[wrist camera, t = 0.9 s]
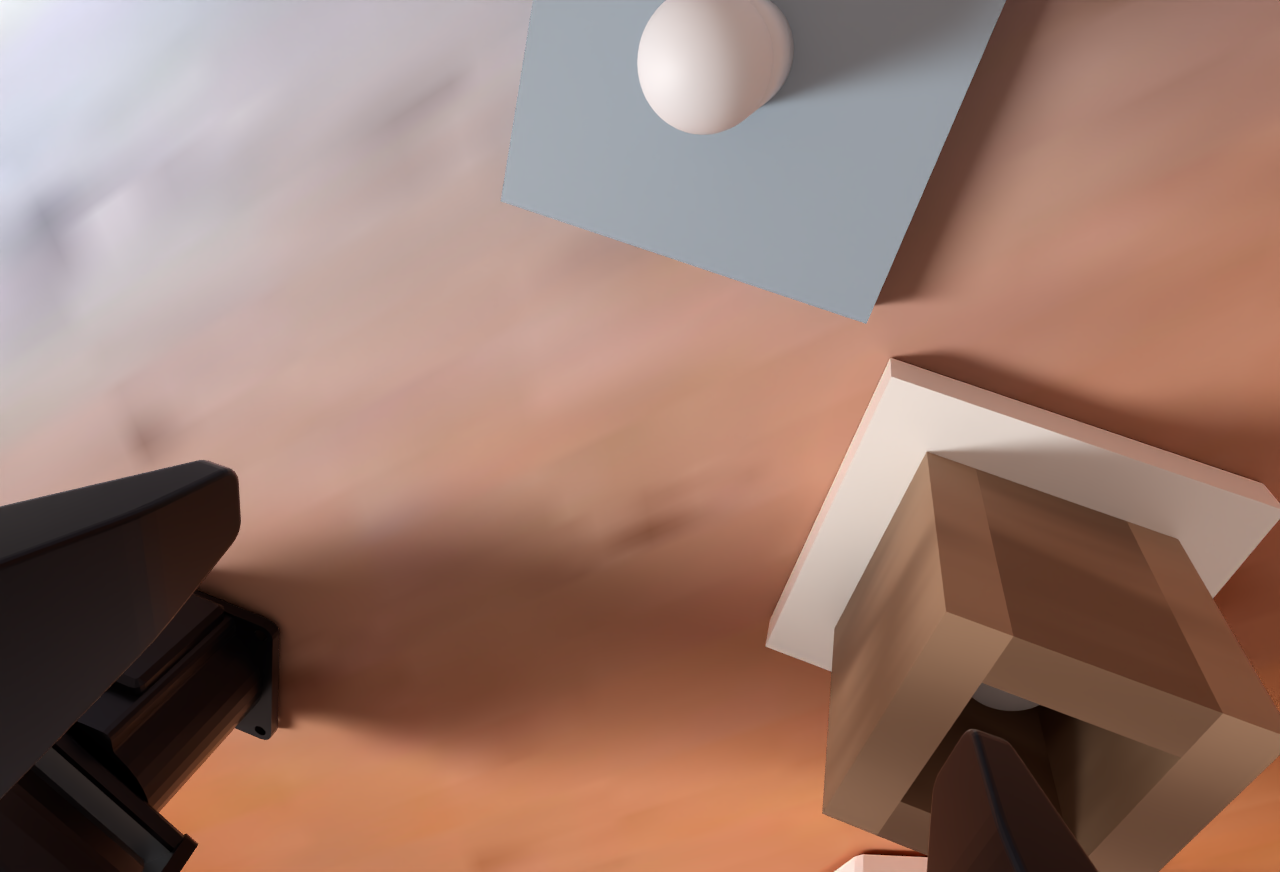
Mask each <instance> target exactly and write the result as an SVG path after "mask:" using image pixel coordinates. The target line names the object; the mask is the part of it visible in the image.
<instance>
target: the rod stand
mask: <svg viewBox="0 0 1280 872" xmlns="http://www.w3.org/2000/svg"><path fill="white" fill-rule="evenodd" d="M926 452H930V453H932V454H935V455H938V456H941V457H944V458H947V459H950V460H953V461H955V462H958V463H961V464H964V465H967V466H970V467H973V468H976V469H978V470H981V471H984V472H987V473H990V474H993V475H996V476H998V477H1001V478H1004V479H1007V480H1010V481H1013V482H1016V483H1019V484H1021V485H1024V486H1027V487H1030V488H1033V489H1036V490H1039V491H1042V492H1044V493H1047V494H1050V495H1053V496H1056V497H1059V498H1062V499H1065V500H1067V501H1070V502H1073V503H1076V504H1079V505H1082V506H1085V507H1087V508H1090V509H1093V510H1096V511H1099V512H1102V513H1105V514H1108V515H1110V516H1113V517H1116V518H1119V519H1122V520H1125V521H1128V522H1131V523H1133V524H1136V525H1139V526H1142V527H1145V528H1148V529H1151V530H1153V531H1156V532H1159V533H1162V534H1165V535H1168V536H1171V537H1174V538H1176V539H1178V540H1179V541H1180V543H1181V545H1182V546H1183V548H1184V550H1185V552H1186V553H1187V555H1188V557H1189V558H1190V560H1191V562H1192V564H1193V565H1194V567H1195V569H1196V570H1197V572H1198V574H1199V576H1200V577H1201V579H1202V581H1203V582H1204V584H1205V586H1206V588H1207V589H1208V591H1209V593H1210V594H1211V596H1212V598H1214V597H1215V595H1216V594H1217V593H1218V592H1219V591H1220V590H1221V588H1222V587H1223V586H1224V585H1225V584H1226V582H1227V581H1228V580H1229V579H1230V578H1231V576H1232V575H1233V574H1234V573H1235V572H1236V570H1237V569H1238V568H1239V567H1240V566H1241V564H1242V563H1243V562H1244V561H1245V560H1246V558H1247V557H1248V556H1249V555H1250V554H1251V553H1252V551H1253V550H1254V549H1255V548H1256V547H1257V545H1258V544H1259V543H1260V542H1261V541H1262V539H1263V538H1264V537H1265V536H1266V535H1267V533H1268V532H1269V531H1270V530H1271V529H1272V527H1273V526H1274V525H1275V524H1276V523H1277V521H1278V520H1279V519H1280V503H1279V502H1278V501H1277V499H1276V498H1275V497H1274V496H1273V495H1272V493H1271V492H1270V491H1269V490H1268V489H1267V487H1266V486H1265V485H1264V484H1263V483H1260V482H1257V481H1254V480H1251V479H1248V478H1245V477H1242V476H1239V475H1236V474H1233V473H1230V472H1227V471H1224V470H1221V469H1218V468H1215V467H1212V466H1209V465H1207V464H1204V463H1201V462H1198V461H1195V460H1192V459H1189V458H1186V457H1183V456H1180V455H1177V454H1174V453H1171V452H1168V451H1165V450H1162V449H1159V448H1156V447H1153V446H1150V445H1147V444H1144V443H1141V442H1139V441H1136V440H1133V439H1130V438H1127V437H1124V436H1121V435H1118V434H1115V433H1112V432H1109V431H1106V430H1103V429H1100V428H1097V427H1094V426H1091V425H1088V424H1085V423H1082V422H1079V421H1076V420H1073V419H1070V418H1068V417H1065V416H1062V415H1059V414H1056V413H1053V412H1050V411H1047V410H1044V409H1041V408H1038V407H1035V406H1032V405H1029V404H1026V403H1023V402H1020V401H1017V400H1014V399H1011V398H1008V397H1005V396H1002V395H1000V394H997V393H994V392H991V391H988V390H985V389H982V388H979V387H976V386H973V385H970V384H967V383H964V382H961V381H958V380H955V379H952V378H949V377H946V376H943V375H940V374H937V373H934V372H932V371H929V370H926V369H923V368H920V367H917V366H914V365H911V364H908V363H905V362H902V361H899V360H896V359H893V358H890V359H889V362H888V364H887V366H886V368H885V370H884V373H883V375H882V377H881V379H880V381H879V383H878V386H877V388H876V390H875V392H874V394H873V396H872V399H871V401H870V403H869V405H868V407H867V410H866V412H865V414H864V416H863V418H862V420H861V423H860V425H859V427H858V429H857V431H856V433H855V436H854V438H853V440H852V442H851V444H850V446H849V449H848V451H847V453H846V455H845V457H844V460H843V462H842V464H841V466H840V468H839V470H838V473H837V475H836V477H835V479H834V481H833V483H832V486H831V488H830V490H829V492H828V494H827V497H826V499H825V501H824V503H823V505H822V507H821V510H820V512H819V514H818V516H817V518H816V520H815V523H814V525H813V527H812V529H811V531H810V534H809V536H808V538H807V540H806V542H805V544H804V547H803V549H802V551H801V553H800V555H799V557H798V560H797V562H796V564H795V566H794V568H793V571H792V573H791V575H790V577H789V579H788V581H787V584H786V586H785V588H784V590H783V592H782V594H781V597H780V599H779V601H778V603H777V605H776V608H775V610H774V612H773V614H772V616H771V618H770V622H769V628H768V634H767V640H766V645H765V647H768V648H771V649H773V650H776V651H778V652H781V653H784V654H786V655H789V656H792V657H794V658H797V659H799V660H802V661H805V662H807V663H810V664H813V665H815V666H818V667H820V668H823V669H826V670H828V671H831V672H832V657H833V642H834V628H835V626H836V624H837V623H838V621H839V619H840V617H841V615H842V613H843V611H844V609H845V607H846V605H847V603H848V601H849V599H850V598H851V596H852V594H853V592H854V590H855V588H856V586H857V584H858V582H859V580H860V578H861V576H862V575H863V573H864V571H865V569H866V567H867V565H868V563H869V561H870V559H871V557H872V555H873V553H874V552H875V550H876V548H877V546H878V544H879V542H880V540H881V538H882V536H883V534H884V532H885V530H886V528H887V527H888V525H889V523H890V521H891V519H892V517H893V515H894V513H895V511H896V509H897V507H898V505H899V504H900V502H901V500H902V498H903V496H904V494H905V492H906V490H907V488H908V486H909V484H910V482H911V481H912V479H913V477H914V475H915V473H916V471H917V469H918V467H919V465H920V463H921V461H922V459H923V457H924V456H925V454H926ZM972 698H974V699H975V700H976V701H978V702H979V703H981V704H983V705H985V706H988V707H991V708H994V709H998V710H1004V711H1020V710H1026V709H1030V708H1033V707H1036V706H1038V705H1039V704H1037V703H1034V702H1031V701H1029V700H1026V699H1023V698H1021V697H1018V696H1015V695H1013V694H1010V693H1007V692H1005V691H1002V690H999V689H997V688H994V687H991V686H989V685H986V684H983V683H981V684H980V686H979V687H978V689H977V690H976V692H975V693H974V695H973V696H972Z"/></svg>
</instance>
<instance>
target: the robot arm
mask: <svg viewBox="0 0 1280 872" xmlns="http://www.w3.org/2000/svg"><path fill="white" fill-rule="evenodd" d="M240 524H241V515H240V497H239V481H238V477H237V475H236V473H235V471H233V470H232V469H230V468H227V467H225V466H222V465H219V464H216V463H213V462H210V461H206V460H199V461H194V462H190V463H185V464H181V465H177V466H172V467H168V468H164V469H159V470H155V471H151V472H146V473H142V474H138V475H134V476H129V477H125V478H121V479H116V480H112V481H108V482H103V483H99V484H95V485H90V486H86V487H82V488H78V489H73V490H69V491H65V492H60V493H56V494H52V495H47V496H43V497H39V498H34V499H30V500H26V501H22V502H17V503H13V504H9V505H4V506H0V872H180V871H181V870H182V868H183V867H184V865H185V864H186V862H187V861H188V859H189V858H190V856H191V855H192V853H193V852H194V850H195V849H196V847H197V845H198V843H197V842H196V841H194V840H193V839H192V838H191V837H190V836H189V835H188V834H184V835H183V834H182V833H181V832H180V831H178V830H177V829H176V828H175V827H174V826H173V825H172V824H171V823H169V822H168V821H167V820H166V819H165V818H164V817H163V816H162V815H161V814H159V812H160V811H161V809H162V808H163V807H164V806H165V805H166V804H167V803H168V802H169V801H170V799H171V798H172V797H173V796H174V795H175V794H176V793H177V792H178V791H179V789H180V788H181V787H182V786H183V785H184V784H185V783H186V782H187V781H188V779H189V778H190V777H191V776H192V775H193V774H194V773H195V772H196V771H197V769H198V768H199V767H200V766H201V765H202V764H203V763H204V762H205V761H206V759H207V758H208V757H209V756H210V755H211V754H212V753H213V752H214V751H215V749H216V748H217V747H218V746H219V745H220V744H221V743H222V742H223V740H224V739H225V738H226V737H227V736H228V735H229V734H230V733H231V732H232V730H233V729H234V728H236V729H239V730H241V731H243V732H246V733H248V734H251V735H253V736H255V737H258V738H260V739H264V740H268V739H269V738H271V736H272V735H273V734H274V733H275V732H276V730H277V726H278V684H279V641H280V632H279V629H278V627H277V626H276V624H274V623H273V622H272V621H270V620H269V619H267V618H264V617H262V616H259V615H257V614H254V613H252V612H249V611H247V610H244V609H242V608H239V607H237V606H234V605H232V604H229V603H227V602H224V601H222V600H219V599H217V598H214V597H212V596H209V595H207V594H205V593H202V592H200V591H197V590H196V589H197V587H198V586H199V585H200V584H201V582H202V581H203V580H204V579H205V577H206V576H207V575H208V574H209V572H210V571H211V570H212V569H213V567H214V566H215V565H216V564H217V562H218V561H219V560H220V558H221V557H222V556H223V555H224V553H225V552H226V551H227V550H228V548H229V547H230V546H231V545H232V543H233V542H234V540H235V539H236V537H237V535H238V532H239V529H240ZM927 872H1098V870H1097V869H1096V867H1095V866H1094V864H1093V863H1092V861H1091V860H1090V859H1089V857H1088V856H1087V854H1086V853H1085V851H1084V850H1083V848H1082V847H1081V845H1080V844H1079V843H1078V841H1077V840H1076V838H1075V837H1074V835H1073V834H1072V832H1071V831H1070V829H1069V828H1068V826H1067V825H1066V824H1065V822H1064V821H1063V819H1062V818H1061V816H1060V815H1059V813H1058V812H1057V810H1056V809H1055V807H1054V806H1053V805H1052V803H1051V802H1050V800H1049V799H1048V797H1047V796H1046V794H1045V793H1044V791H1043V790H1042V789H1041V787H1040V786H1039V784H1038V783H1037V781H1036V780H1035V778H1034V777H1033V775H1032V774H1031V772H1030V771H1029V770H1028V768H1027V767H1026V765H1025V764H1024V762H1023V761H1022V759H1021V758H1020V756H1019V755H1018V753H1017V752H1016V751H1015V749H1014V748H1013V746H1012V745H1011V744H1010V743H1009V742H1008V741H1006V740H1005V739H1003V738H1000V737H997V736H994V735H992V734H989V733H986V732H983V731H980V730H977V729H970V730H967V731H966V732H965V733H964V734H963V735H962V737H961V738H960V740H959V741H958V743H957V744H956V746H955V748H954V749H953V751H952V752H951V754H950V756H949V757H948V759H947V760H946V762H945V764H944V765H943V767H942V768H941V770H940V772H939V773H938V775H937V778H936V781H935V784H934V788H933V794H932V806H931V820H930V833H929V847H928V860H927Z"/></svg>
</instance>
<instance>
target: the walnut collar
mask: <svg viewBox="0 0 1280 872" xmlns="http://www.w3.org/2000/svg"><path fill="white" fill-rule="evenodd" d="M981 683H983V684H986V685H989V686H991V687H994V688H997V689H999V690H1002V691H1005V692H1007V693H1010V694H1013V695H1015V696H1018V697H1021V698H1023V699H1026V700H1029V701H1031V702H1034V703H1037V704H1039V705H1038V706H1036V707H1033V708H1030V709H1026V710H1020V711H1004V710H998V709H994V708H991V707H988V706H985V705H983V704H981V703H979V702H978V701H976V700H975V699H974V698H972V696H973V695H974V693H975V692H976V690H977V689H978V687H979V686H980V684H981ZM970 729H977V730H980V731H983V732H986V733H989V734H992V735H994V736H997V737H1000V738H1003V739H1005V740H1006V741H1008V742H1009V743H1010V744H1011V745H1012V746H1013V748H1014V749H1015V751H1016V752H1017V753H1018V755H1019V756H1020V758H1021V759H1022V761H1023V762H1024V764H1025V765H1026V767H1027V768H1028V770H1029V771H1030V772H1031V774H1032V775H1033V777H1034V778H1035V780H1036V781H1037V783H1038V784H1039V786H1040V787H1041V789H1042V790H1043V791H1044V793H1045V794H1046V796H1047V797H1048V799H1049V800H1050V802H1051V803H1052V805H1053V806H1054V807H1055V809H1056V810H1057V812H1058V813H1059V815H1060V816H1061V818H1062V819H1063V821H1064V822H1065V824H1066V825H1067V826H1068V828H1069V829H1070V831H1071V832H1072V834H1073V835H1074V837H1075V838H1076V840H1077V841H1078V843H1079V844H1080V845H1081V847H1082V848H1083V850H1084V851H1085V853H1086V854H1087V856H1088V857H1089V859H1090V860H1091V861H1092V863H1093V864H1094V866H1095V867H1096V869H1097V870H1098V872H1159V871H1160V870H1161V869H1162V868H1163V867H1164V866H1165V865H1166V864H1167V863H1168V862H1169V861H1170V860H1171V859H1172V858H1173V857H1174V856H1175V855H1176V854H1177V853H1179V852H1180V851H1181V850H1182V849H1183V848H1184V847H1185V846H1186V845H1187V844H1188V843H1189V842H1190V841H1191V840H1192V839H1193V838H1194V837H1195V836H1196V835H1197V834H1198V833H1199V832H1200V831H1201V830H1202V829H1203V828H1204V827H1205V826H1207V825H1208V824H1209V823H1210V822H1211V821H1212V820H1213V819H1214V818H1215V817H1216V816H1217V815H1218V814H1219V813H1220V812H1221V811H1222V810H1223V809H1224V808H1225V807H1226V806H1227V805H1228V804H1229V803H1230V802H1231V801H1232V800H1234V799H1235V798H1236V797H1237V796H1238V795H1239V794H1240V793H1241V792H1242V791H1243V790H1244V789H1245V788H1246V787H1247V786H1248V785H1249V784H1250V783H1251V782H1252V781H1253V780H1254V779H1255V778H1256V777H1257V776H1258V775H1259V774H1261V773H1262V772H1263V771H1264V770H1265V769H1266V768H1267V767H1268V766H1269V765H1270V764H1271V763H1272V762H1273V761H1274V760H1275V759H1276V758H1277V757H1278V756H1279V755H1280V713H1279V711H1278V709H1277V708H1276V706H1275V704H1274V702H1273V701H1272V699H1271V697H1270V696H1269V694H1268V692H1267V690H1266V689H1265V687H1264V685H1263V684H1262V682H1261V680H1260V678H1259V677H1258V675H1257V673H1256V672H1255V670H1254V668H1253V666H1252V665H1251V663H1250V661H1249V660H1248V658H1247V656H1246V654H1245V653H1244V651H1243V649H1242V648H1241V646H1240V644H1239V642H1238V641H1237V639H1236V637H1235V636H1234V634H1233V632H1232V630H1231V629H1230V627H1229V625H1228V624H1227V622H1226V620H1225V618H1224V617H1223V615H1222V613H1221V612H1220V610H1219V608H1218V606H1217V605H1216V603H1215V601H1214V600H1213V598H1212V596H1211V594H1210V593H1209V591H1208V589H1207V588H1206V586H1205V584H1204V582H1203V581H1202V579H1201V577H1200V576H1199V574H1198V572H1197V570H1196V569H1195V567H1194V565H1193V564H1192V562H1191V560H1190V558H1189V557H1188V555H1187V553H1186V552H1185V550H1184V548H1183V546H1182V545H1181V543H1180V541H1179V540H1178V539H1176V538H1174V537H1171V536H1168V535H1165V534H1162V533H1159V532H1156V531H1153V530H1151V529H1148V528H1145V527H1142V526H1139V525H1136V524H1133V523H1131V522H1128V521H1125V520H1122V519H1119V518H1116V517H1113V516H1110V515H1108V514H1105V513H1102V512H1099V511H1096V510H1093V509H1090V508H1087V507H1085V506H1082V505H1079V504H1076V503H1073V502H1070V501H1067V500H1065V499H1062V498H1059V497H1056V496H1053V495H1050V494H1047V493H1044V492H1042V491H1039V490H1036V489H1033V488H1030V487H1027V486H1024V485H1021V484H1019V483H1016V482H1013V481H1010V480H1007V479H1004V478H1001V477H998V476H996V475H993V474H990V473H987V472H984V471H981V470H978V469H976V468H973V467H970V466H967V465H964V464H961V463H958V462H955V461H953V460H950V459H947V458H944V457H941V456H938V455H935V454H932V453H930V452H926V454H925V456H924V457H923V459H922V461H921V463H920V465H919V467H918V469H917V471H916V473H915V475H914V477H913V479H912V481H911V482H910V484H909V486H908V488H907V490H906V492H905V494H904V496H903V498H902V500H901V502H900V504H899V505H898V507H897V509H896V511H895V513H894V515H893V517H892V519H891V521H890V523H889V525H888V527H887V528H886V530H885V532H884V534H883V536H882V538H881V540H880V542H879V544H878V546H877V548H876V550H875V552H874V553H873V555H872V557H871V559H870V561H869V563H868V565H867V567H866V569H865V571H864V573H863V575H862V576H861V578H860V580H859V582H858V584H857V586H856V588H855V590H854V592H853V594H852V596H851V598H850V599H849V601H848V603H847V605H846V607H845V609H844V611H843V613H842V615H841V617H840V619H839V621H838V623H837V624H836V626H835V628H834V642H833V657H832V673H831V688H830V704H829V719H828V735H827V750H826V765H825V781H824V796H823V812H822V814H825V815H827V816H830V817H832V818H835V819H837V820H840V821H842V822H845V823H847V824H850V825H852V826H855V827H857V828H860V829H862V830H865V831H867V832H870V833H872V834H875V835H877V836H880V837H882V838H885V839H887V840H890V841H892V842H895V843H897V844H900V845H902V846H905V847H907V848H910V849H912V850H915V851H917V852H920V853H922V854H925V855H927V856H928V847H929V833H930V820H931V806H932V794H933V788H934V784H935V781H936V778H937V775H938V773H939V772H940V770H941V768H942V767H943V765H944V764H945V762H946V760H947V759H948V757H949V756H950V754H951V752H952V751H953V749H954V748H955V746H956V744H957V743H958V741H959V740H960V738H961V737H962V735H963V734H964V733H965V732H966V731H967V730H970Z"/></svg>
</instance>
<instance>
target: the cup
mask: <svg viewBox="0 0 1280 872" xmlns="http://www.w3.org/2000/svg"><path fill="white" fill-rule="evenodd" d="M927 860H928V857H911V856H889V855H867V854H863V855H859V856H855V857H853V858H852V859H851V860H849V861H848V862H847V863H845V864H844V865H843V866H841V867H840V868H838V869H837V870H836V871H834V872H927Z"/></svg>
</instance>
